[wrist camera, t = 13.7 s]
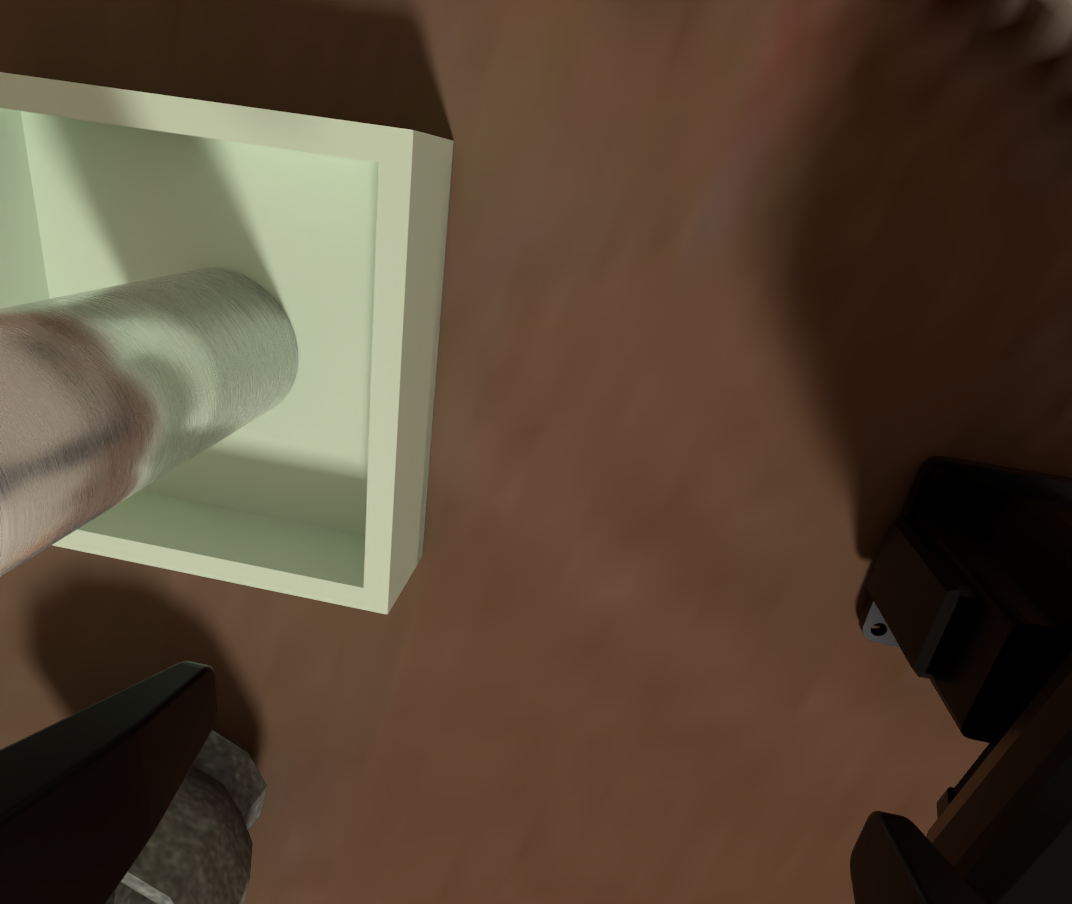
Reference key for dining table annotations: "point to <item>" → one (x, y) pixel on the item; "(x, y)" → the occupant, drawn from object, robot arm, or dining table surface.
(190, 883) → the mortar and pestle
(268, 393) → the cylinder with three balls
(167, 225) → the pale green bin
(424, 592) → the dining table surface
